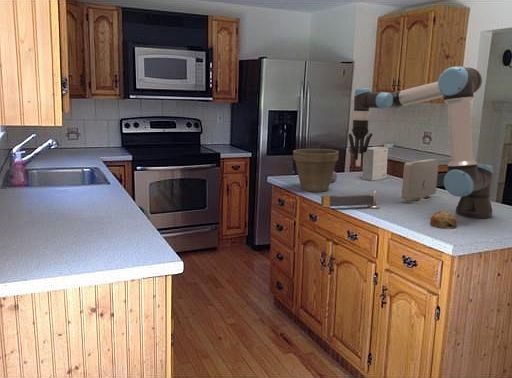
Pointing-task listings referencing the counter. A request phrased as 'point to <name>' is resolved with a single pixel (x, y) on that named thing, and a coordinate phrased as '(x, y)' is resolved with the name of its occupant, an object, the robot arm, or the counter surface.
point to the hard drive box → (375, 163)
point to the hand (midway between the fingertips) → (358, 165)
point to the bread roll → (443, 220)
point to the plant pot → (315, 168)
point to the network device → (419, 180)
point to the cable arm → (346, 200)
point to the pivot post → (374, 201)
